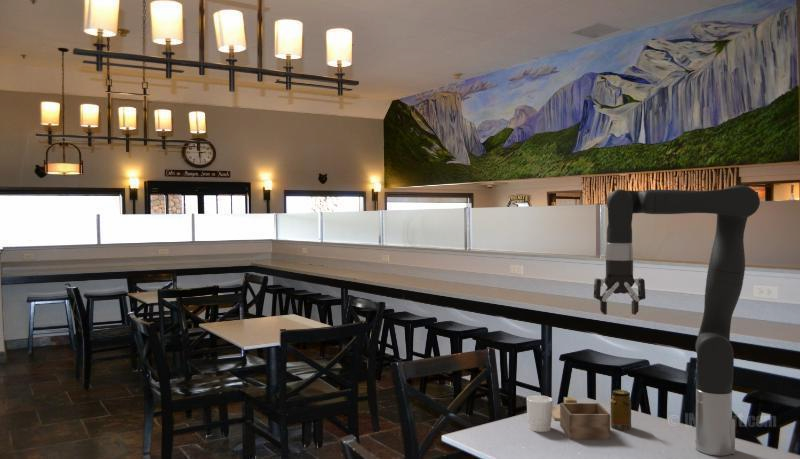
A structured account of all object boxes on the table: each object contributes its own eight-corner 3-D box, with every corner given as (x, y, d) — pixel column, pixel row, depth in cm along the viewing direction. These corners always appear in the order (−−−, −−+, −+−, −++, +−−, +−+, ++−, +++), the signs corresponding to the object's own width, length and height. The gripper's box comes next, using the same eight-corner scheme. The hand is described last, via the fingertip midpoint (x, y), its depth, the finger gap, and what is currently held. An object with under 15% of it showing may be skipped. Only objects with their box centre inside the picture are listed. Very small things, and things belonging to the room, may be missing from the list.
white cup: (557, 432, 200) (557, 400, 200) (535, 436, 197) (535, 403, 197) (542, 425, 207) (542, 394, 207) (521, 428, 205) (521, 396, 204)
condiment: (617, 425, 207) (617, 387, 207) (642, 431, 201) (642, 393, 201) (604, 429, 203) (604, 391, 203) (629, 436, 196) (629, 397, 196)
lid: (584, 411, 222) (585, 393, 222) (595, 424, 209) (595, 404, 209) (546, 411, 223) (546, 393, 223) (554, 423, 210) (554, 404, 210)
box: (598, 428, 204) (598, 403, 204) (610, 441, 192) (610, 414, 192) (560, 428, 204) (560, 403, 204) (569, 441, 192) (569, 414, 192)
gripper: (598, 259, 185) (598, 316, 186) (648, 259, 185) (648, 316, 185) (591, 257, 193) (591, 312, 193) (639, 257, 192) (639, 312, 193)
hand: (619, 314), depth 189 cm, fingers open, 8 cm apart
